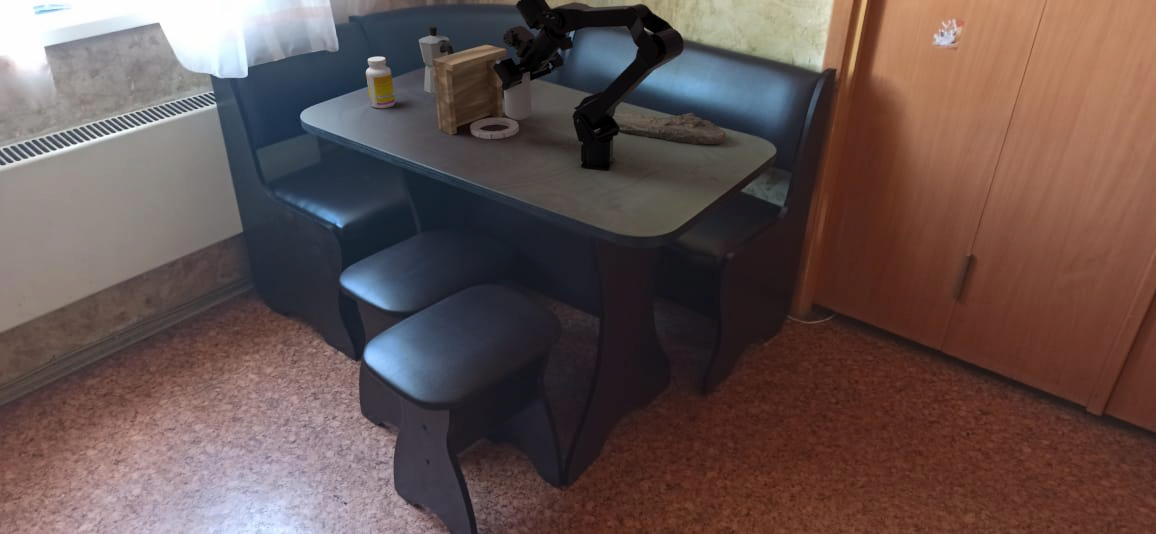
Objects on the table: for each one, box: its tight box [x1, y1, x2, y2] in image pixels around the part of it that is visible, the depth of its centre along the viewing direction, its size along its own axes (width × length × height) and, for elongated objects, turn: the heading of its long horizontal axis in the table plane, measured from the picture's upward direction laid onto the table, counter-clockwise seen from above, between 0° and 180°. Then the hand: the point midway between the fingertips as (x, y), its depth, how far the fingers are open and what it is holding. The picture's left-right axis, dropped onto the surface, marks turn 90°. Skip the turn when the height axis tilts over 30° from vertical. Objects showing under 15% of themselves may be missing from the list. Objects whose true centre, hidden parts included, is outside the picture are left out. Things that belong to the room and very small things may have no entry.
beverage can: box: [503, 63, 532, 121], centre depth 186 cm, size 6×6×12 cm
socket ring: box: [469, 116, 520, 140], centre depth 197 cm, size 12×12×1 cm
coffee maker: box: [418, 25, 455, 95], centre depth 221 cm, size 15×9×18 cm, turn 43°
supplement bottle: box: [365, 56, 396, 109], centre depth 212 cm, size 7×7×13 cm
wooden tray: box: [432, 44, 507, 135], centre depth 197 cm, size 7×18×18 cm, turn 140°
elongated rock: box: [613, 111, 726, 145], centre depth 195 cm, size 35×5×10 cm
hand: (512, 85), depth 186 cm, fingers closed on beverage can, 6 cm apart
